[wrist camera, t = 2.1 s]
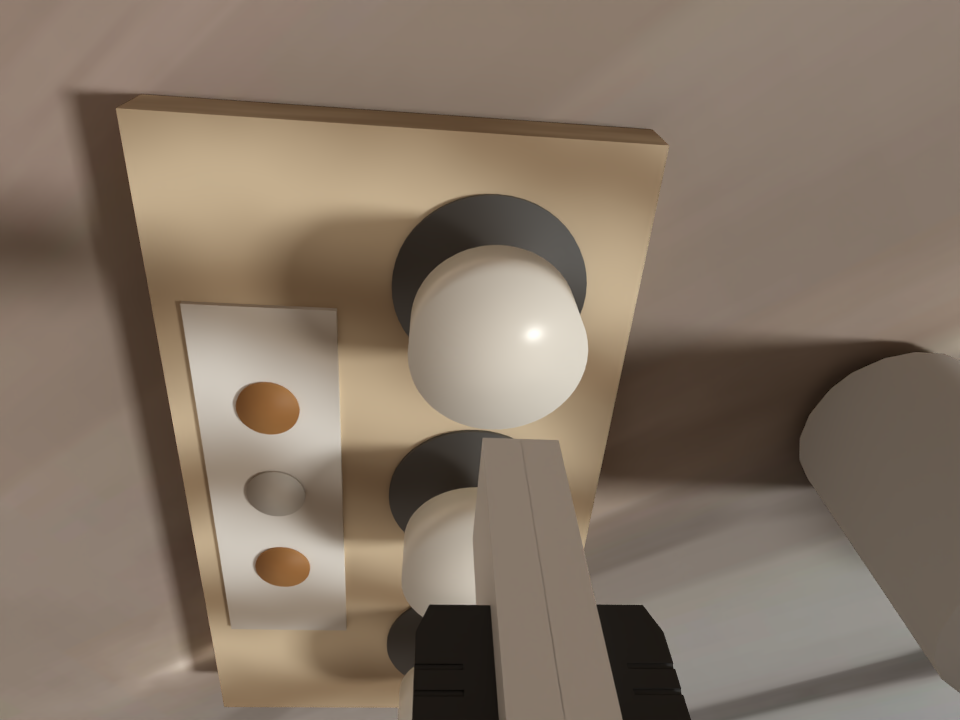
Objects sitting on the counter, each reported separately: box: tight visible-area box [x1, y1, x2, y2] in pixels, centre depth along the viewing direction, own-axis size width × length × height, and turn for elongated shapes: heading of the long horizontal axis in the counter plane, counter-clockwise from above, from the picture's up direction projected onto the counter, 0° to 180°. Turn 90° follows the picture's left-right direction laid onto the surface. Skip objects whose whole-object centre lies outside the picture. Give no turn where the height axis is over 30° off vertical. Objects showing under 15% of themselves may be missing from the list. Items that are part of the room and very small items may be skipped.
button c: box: [408, 245, 588, 430], centre depth 20 cm, size 5×5×2 cm
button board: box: [116, 94, 669, 707], centre depth 28 cm, size 28×16×2 cm, turn 176°
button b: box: [401, 487, 478, 617], centre depth 25 cm, size 5×5×2 cm
